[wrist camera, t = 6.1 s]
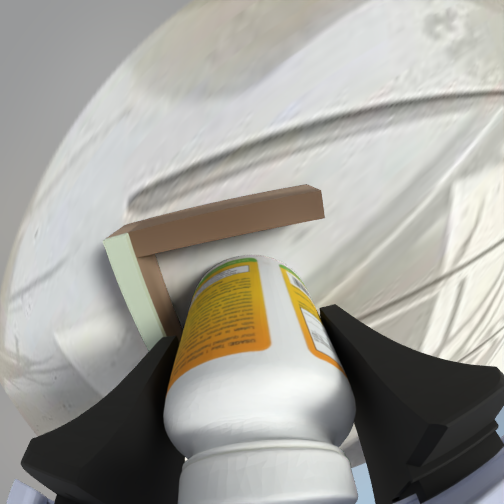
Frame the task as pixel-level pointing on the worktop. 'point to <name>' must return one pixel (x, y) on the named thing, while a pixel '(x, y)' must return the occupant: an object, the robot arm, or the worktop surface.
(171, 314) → the dock
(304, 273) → the worktop surface
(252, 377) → the supplement bottle
